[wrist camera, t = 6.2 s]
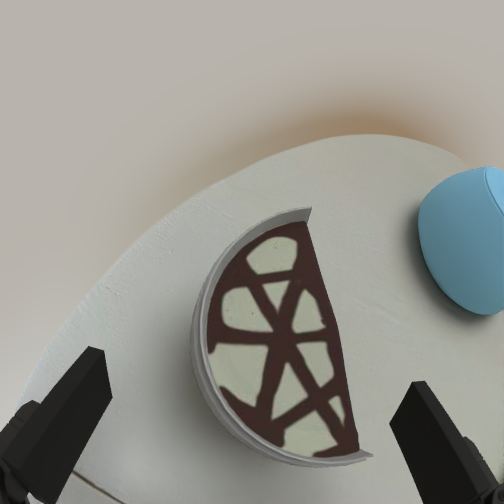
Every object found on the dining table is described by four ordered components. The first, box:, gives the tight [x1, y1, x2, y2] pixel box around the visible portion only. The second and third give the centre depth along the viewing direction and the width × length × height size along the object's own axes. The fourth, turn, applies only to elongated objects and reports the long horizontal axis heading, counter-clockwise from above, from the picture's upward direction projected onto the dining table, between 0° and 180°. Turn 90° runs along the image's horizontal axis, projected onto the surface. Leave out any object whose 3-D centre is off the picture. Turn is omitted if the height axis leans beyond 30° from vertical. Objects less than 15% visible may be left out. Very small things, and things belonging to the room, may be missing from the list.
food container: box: [190, 206, 373, 467], centre depth 15 cm, size 12×6×10 cm, turn 9°
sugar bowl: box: [418, 167, 504, 315], centre depth 20 cm, size 15×15×12 cm
